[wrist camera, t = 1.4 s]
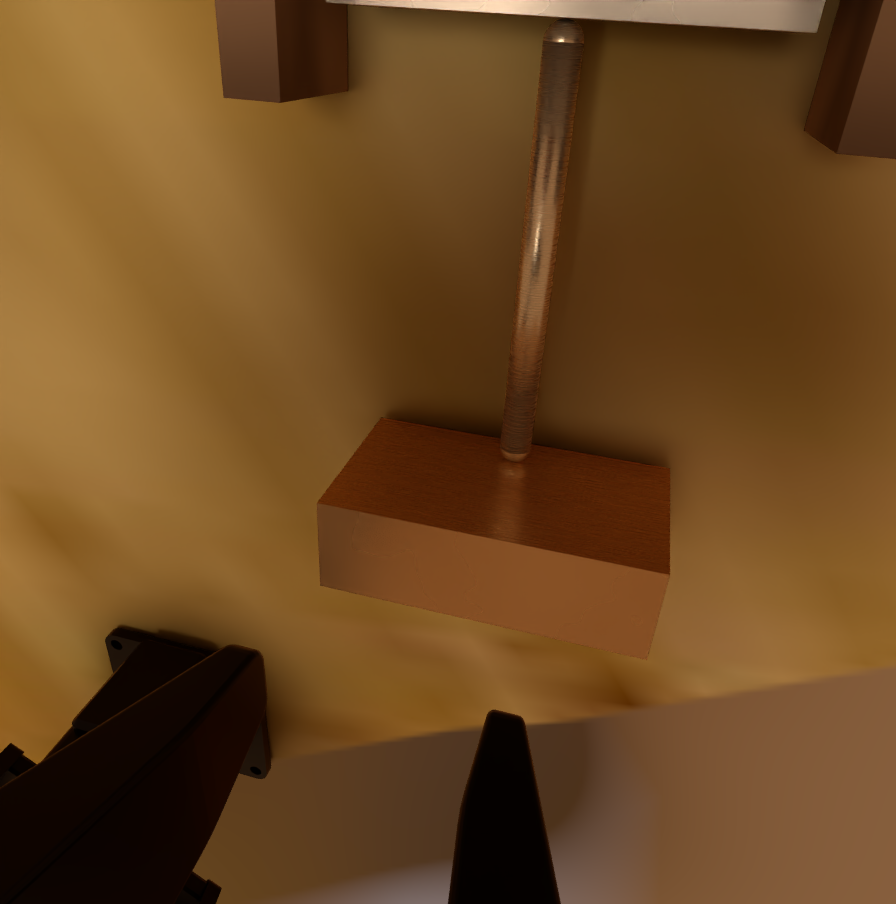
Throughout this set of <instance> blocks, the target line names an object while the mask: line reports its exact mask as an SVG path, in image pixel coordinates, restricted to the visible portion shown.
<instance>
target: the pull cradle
mask: <svg viewBox="0 0 896 904" xmlns="http://www.w3.org/2000/svg"><path fill="white" fill-rule="evenodd" d="M326 2H327V3H338V4H348V5H359V6H370V7H385V8H401V9H417V10H433V11H449V12H465V13H481V14H497V15H513V16H530V17H546V18H562V19H559V20H556V21H555V22H553V23H552V24H551V25H550V26H549V27H548V29H547V30H546V32H545V35H544V39H543V47H542V56H541V65H540V75H539V84H538V94H537V103H536V112H535V122H534V131H533V141H532V150H531V159H530V169H529V178H528V188H527V197H526V206H525V216H524V225H523V235H522V244H521V253H520V263H519V272H518V282H517V291H516V301H515V310H514V319H513V329H512V338H511V348H510V357H509V366H508V376H507V385H506V395H505V404H504V413H503V423H502V432H501V439H500V438H494V437H489V436H483V435H477V434H472V433H466V432H460V431H455V430H449V429H443V428H438V427H432V426H426V425H421V424H415V423H409V422H404V421H398V420H392V419H387V418H381V419H380V420H379V421H378V423H377V424H376V425H375V427H374V428H373V429H372V431H371V432H370V433H369V434H368V436H367V437H366V438H365V440H364V441H363V442H362V444H361V445H360V446H359V448H358V449H357V450H356V452H355V453H354V454H353V456H352V457H351V458H350V460H349V461H348V462H347V464H346V465H345V466H344V468H343V469H342V470H341V472H340V473H339V474H338V476H337V477H336V478H335V480H334V481H333V482H332V484H331V485H330V486H329V488H328V489H327V490H326V492H325V493H324V494H323V496H322V497H321V498H320V499H319V501H318V502H317V518H318V541H319V564H320V586H325V587H329V588H333V589H338V590H342V591H347V592H351V593H355V594H360V595H364V596H369V597H373V598H377V599H382V600H386V601H391V602H395V603H399V604H404V605H408V606H413V607H417V608H421V609H426V610H430V611H435V612H439V613H443V614H448V615H452V616H457V617H461V618H465V619H470V620H474V621H478V622H483V623H487V624H492V625H496V626H500V627H505V628H509V629H514V630H518V631H522V632H527V633H531V634H536V635H540V636H544V637H549V638H553V639H558V640H562V641H566V642H571V643H575V644H580V645H584V646H588V647H593V648H597V649H602V650H606V651H610V652H615V653H619V654H624V655H628V656H632V657H637V658H641V659H646V660H647V657H648V654H649V650H650V646H651V643H652V639H653V635H654V632H655V628H656V624H657V621H658V617H659V613H660V610H661V606H662V602H663V599H664V595H665V591H666V588H667V584H668V580H669V577H670V468H664V467H658V466H653V465H647V464H641V463H636V462H630V461H624V460H619V459H613V458H607V457H602V456H596V455H591V454H585V453H579V452H574V451H568V450H562V449H557V448H551V447H545V446H540V445H534V444H531V443H532V435H533V428H534V420H535V413H536V405H537V397H538V390H539V382H540V375H541V367H542V359H543V352H544V344H545V337H546V329H547V321H548V314H549V306H550V298H551V291H552V283H553V276H554V268H555V260H556V253H557V245H558V238H559V230H560V222H561V215H562V207H563V200H564V192H565V184H566V177H567V169H568V162H569V154H570V146H571V139H572V131H573V124H574V116H575V108H576V101H577V93H578V86H579V78H580V70H581V63H582V55H583V48H584V34H583V31H582V29H581V27H580V26H579V24H578V23H577V22H575V21H574V20H572V19H578V20H594V21H610V22H626V23H642V24H658V25H674V26H691V27H707V28H723V29H739V30H755V31H771V32H787V33H817V30H818V26H819V22H820V19H821V15H822V11H823V8H824V4H825V0H326Z"/></svg>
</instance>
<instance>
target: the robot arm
mask: <svg viewBox="0 0 896 904" xmlns="http://www.w3.org/2000/svg"><path fill="white" fill-rule="evenodd" d="M105 642H106V646H107V650H108V654H109V658H110V662H111V666H112V670H113V675H112V676H111V677H110V678H109V679H108V680H107V681H106V683H105V684H104V685H103V686H102V687H101V688H100V689H99V691H98V692H97V693H96V694H95V695H94V696H93V697H92V699H91V700H90V701H89V702H88V703H87V704H86V706H85V707H84V708H83V709H82V710H81V711H80V712H79V714H78V715H77V716H76V717H75V718H74V720H73V721H72V727H71V728H70V729H69V730H68V731H67V733H66V734H65V735H64V736H63V737H62V738H61V739H60V741H59V742H58V743H57V744H56V745H55V746H54V748H53V749H52V750H51V751H50V752H49V753H48V754H47V756H46V757H45V758H44V759H43V760H42V761H41V762H40V763H38V764H35V763H34V762H33V761H31V760H30V759H28V758H27V757H25V756H24V755H23V753H24V751H22V750H21V749H19V748H18V747H16V746H15V745H13V744H12V743H10V744H9V745H8V746H7V747H6V748H5V749H4V750H3V751H2V752H1V753H0V904H216V902H217V899H218V897H219V894H220V892H221V887H220V886H218V885H217V884H215V883H214V882H213V881H211V880H207V881H205V880H204V879H203V878H201V877H200V876H198V875H197V874H195V873H194V872H193V871H192V870H193V869H194V867H195V865H196V863H197V861H198V860H199V858H200V856H201V854H202V852H203V850H204V848H205V847H206V845H207V843H208V841H209V839H210V837H211V835H212V833H213V831H214V829H215V826H216V824H217V822H218V820H219V817H220V815H221V813H222V811H223V809H224V806H225V804H226V802H227V799H228V797H229V795H230V792H231V790H232V787H233V785H234V783H235V781H236V778H237V776H238V774H239V773H240V774H244V775H247V776H250V777H254V778H258V779H263V778H265V777H266V776H267V774H268V772H269V770H270V769H271V760H270V750H269V741H268V731H267V722H266V713H265V709H266V704H267V689H266V679H265V669H264V660H263V656H262V654H261V653H260V652H259V651H257V650H255V649H251V648H247V647H243V646H239V645H228V646H225V647H223V648H221V649H220V650H218V651H217V652H211V651H207V650H203V649H199V648H195V647H191V646H187V645H183V644H179V643H175V642H171V641H167V640H163V639H160V638H156V637H152V636H148V635H144V634H140V633H136V632H132V631H128V630H124V629H119V628H116V629H114V630H113V631H112V632H111V633H110V634H109V635H108V636H107V637H106V639H105ZM448 904H561V903H560V897H559V892H558V888H557V882H556V878H555V872H554V867H553V862H552V857H551V852H550V847H549V842H548V837H547V832H546V826H545V821H544V817H543V811H542V807H541V801H540V797H539V791H538V786H537V781H536V776H535V771H534V766H533V760H532V755H531V750H530V746H529V740H528V735H527V730H526V725H525V722H524V720H523V718H522V717H521V716H518V715H515V714H511V713H507V712H503V711H499V710H491V711H489V712H488V714H487V717H486V720H485V723H484V726H483V730H482V733H481V737H480V740H479V744H478V747H477V750H476V753H475V757H474V760H473V764H472V767H471V770H470V774H469V778H468V780H467V784H466V787H465V791H464V795H463V799H462V803H461V807H460V812H459V819H458V824H457V833H456V841H455V849H454V858H453V866H452V874H451V883H450V891H449V899H448Z"/></svg>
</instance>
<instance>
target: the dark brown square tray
mask: <svg viewBox="0 0 896 904" xmlns="http://www.w3.org/2000/svg"><path fill="white" fill-rule="evenodd" d="M215 8H216V19H217V30H218V41H219V52H220V62H221V73H222V84H223V95H224V98H233V99H244V100H255V101H266V102H277V103H282V102H288V101H294V100H299V99H305V98H311V97H316V96H322V95H328V94H334V93H339V92H345V91H348V60H347V4H338V3H327V2H326V0H215ZM804 131H806V132H807V133H808V134H810V135H811V136H813V137H814V138H815V139H817V140H818V141H820V142H821V143H822V144H824V145H825V146H827V147H828V148H829V149H831V150H832V151H834V152H835V153H836V154H846V155H857V156H868V157H879V158H890V159H896V0H840V4H839V7H838V11H837V14H836V18H835V22H834V25H833V29H832V32H831V36H830V39H829V43H828V46H827V50H826V54H825V57H824V61H823V64H822V68H821V71H820V75H819V79H818V82H817V86H816V89H815V93H814V96H813V100H812V103H811V107H810V111H809V114H808V118H807V121H806V125H805V128H804Z"/></svg>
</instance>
